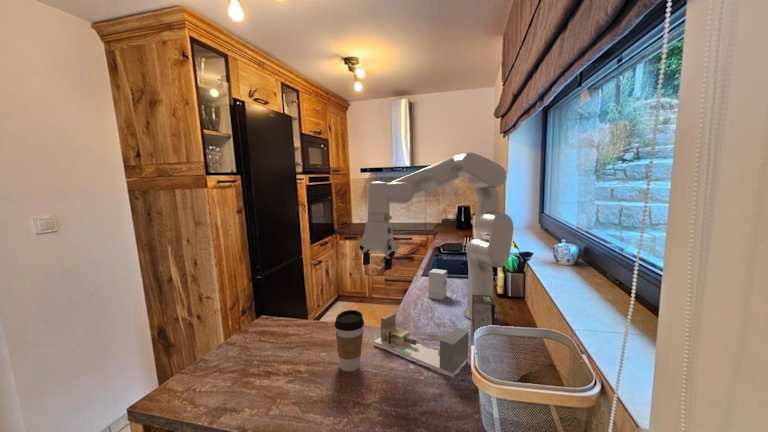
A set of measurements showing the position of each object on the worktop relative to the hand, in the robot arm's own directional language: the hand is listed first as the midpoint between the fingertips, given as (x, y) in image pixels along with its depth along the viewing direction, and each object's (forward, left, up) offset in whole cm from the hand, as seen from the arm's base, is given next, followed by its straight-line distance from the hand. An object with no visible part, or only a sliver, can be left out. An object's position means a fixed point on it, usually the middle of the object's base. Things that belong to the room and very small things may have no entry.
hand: (376, 266), depth 106 cm
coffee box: (-14, +33, -24) cm, 43 cm away
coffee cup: (+20, +7, -24) cm, 32 cm away
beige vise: (+2, +19, -24) cm, 30 cm away
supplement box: (-47, -1, -24) cm, 53 cm away
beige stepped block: (+3, +12, -22) cm, 25 cm away
